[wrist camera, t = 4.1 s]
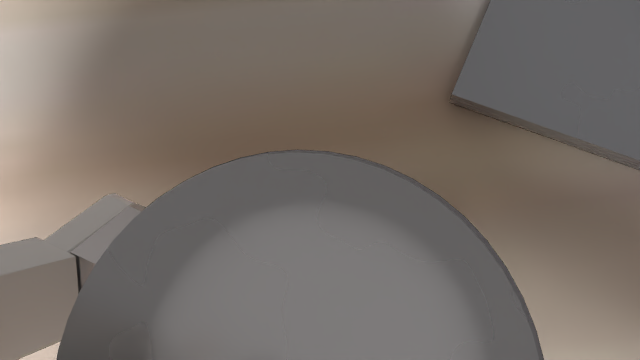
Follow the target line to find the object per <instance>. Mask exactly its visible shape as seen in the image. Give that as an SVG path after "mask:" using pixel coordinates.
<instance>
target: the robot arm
mask: <svg viewBox="0 0 640 360" xmlns="http://www.w3.org/2000/svg"><path fill="white" fill-rule="evenodd" d="M145 208H146V207H144V206H142V205H139V204H136V203H134V202H132V201H130V200H128V199H126V198H124V197H122V196H120V195H118V194H116V193H114V194H109V195H106V196H104V197H103V198H101V199H100V200H98V201H97V202H96V203H94V204H93V205H92V206H90V207H89V208H87V209H86V210H85V211H83V212H82V213H80V214H79V215H78V216H76V217H75V218H74V219H72V220H71V221H69V222H68V223H67V224H65V225H64V226H63V227H61V228H60V229H58V230H57V231H56V232H54V233H53V234H51V235H50V236H49V237H47V238H46V239H45V240H42V239H39V238H37V237H35V238H31V239H26V240H21V241H17V242H12V243H7V244H3V245H0V360H18V359H20V358H22V357H25V356H27V355H29V354H32V353H34V352H37V351H39V350H41V349H44V348H46V347H48V346H51V345H53V344H55V343H58V342H60V341H61V340H62V336H63V333H64V330H65V326H66V323H67V320H68V318H69V315H70V313H71V311H72V308H73V306H74V304H75V301H76V299H77V297H78V295H79V292H80V290H81V288H82V287H83V285H84V283H85V281H86V280H87V278H88V276H89V275H90V273H91V271H92V269H93V268H94V266H95V264H96V263H97V261H98V260H99V259H100V257H101V256H102V255H103V253H104V252H105V251H106V249H107V248H108V247H109V245H110V244H111V243H112V241H113V240H114V239H115V238H116V237H117V236H118V234H119V233H120V232H121V231H122V230H123V229H124V228H125V227H126V226H127V225H128V224H129V223H130V222H131V221H132V220H133V219H134V218H135V217H136V216H137V215H138V214H139V213H140V212H142V211H143V210H144V209H145Z"/></svg>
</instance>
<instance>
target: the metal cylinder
mask: <svg viewBox="0 0 640 360" xmlns="http://www.w3.org/2000/svg"><path fill="white" fill-rule="evenodd" d="M57 360H544V358H543V354H542V350H541V347H540V343H539V339H538V335H537V331H536V328H535V326H534V323H533V321H532V318H531V316H530V313H529V311H528V308H527V306H526V303H525V301H524V298H523V296H522V294H521V293H520V291H519V289H518V287H517V285H516V284H515V282H514V280H513V278H512V276H511V275H510V273H509V271H508V269H507V267H506V266H505V265H504V263H503V262H502V260H501V259H500V258H499V256H498V255H497V254H496V252H495V251H494V249H493V248H492V247H491V245H490V244H489V243H488V241H487V240H486V239H485V238H484V237H483V236H482V235H481V233H480V232H479V231H478V230H477V229H476V228H475V227H474V226H473V225H472V224H471V223H470V222H469V221H468V220H467V219H466V217H465V216H463V215H462V214H461V213H460V212H459V211H457V210H456V209H455V208H454V207H453V206H451V205H450V204H449V203H448V202H447V201H445V200H444V199H443V198H442V197H440V196H439V195H438V194H436V193H435V192H433V191H431V190H430V189H428V188H427V187H425V186H423V185H422V184H420V183H419V182H417V181H416V180H414V179H412V178H410V177H408V176H406V175H404V174H401V173H399V172H397V171H395V170H393V169H391V168H389V167H386V166H384V165H381V164H378V163H375V162H371V161H368V160H365V159H362V158H359V157H355V156H350V155H345V154H339V153H334V152H328V151H312V150H288V151H275V152H266V153H261V154H256V155H251V156H247V157H242V158H238V159H235V160H232V161H229V162H226V163H223V164H221V165H218V166H215V167H212V168H210V169H208V170H206V171H204V172H202V173H200V174H198V175H196V176H193V177H191V178H189V179H187V180H186V181H184V182H182V183H180V184H179V185H177V186H176V187H174V188H173V189H171V190H170V191H168V192H166V193H165V194H163V195H162V196H160V197H159V198H157V199H156V200H155V201H154V202H152V203H151V204H150V205H149V206H148V207H146V208H145V209H144V210H143V211H142V212H140V213H139V214H138V215H137V216H136V217H135V218H134V219H133V220H132V221H131V222H130V223H129V224H128V225H127V226H126V227H125V228H124V229H123V230H122V231H121V232H120V233H119V234H118V236H117V237H116V238H115V239H114V240H113V241H112V243H111V244H110V245H109V247H108V248H107V249H106V251H105V252H104V253H103V255H102V256H101V257H100V259H99V260H98V261H97V263H96V264H95V266H94V268H93V269H92V271H91V273H90V275H89V276H88V278H87V280H86V281H85V283H84V285H83V287H82V288H81V290H80V292H79V295H78V297H77V299H76V301H75V304H74V306H73V308H72V311H71V313H70V315H69V318H68V320H67V323H66V326H65V330H64V333H63V336H62V340H61V343H60V346H59V349H58V354H57Z"/></svg>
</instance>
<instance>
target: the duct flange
mask: <svg viewBox="0 0 640 360" xmlns="http://www.w3.org/2000/svg"><path fill="white" fill-rule="evenodd" d="M450 103H453V104H456V105H458V106H461V107H464V108H467V109H470V110H472V111H475V112H478V113H481V114H484V115H486V116H489V117H492V118H495V119H498V120H501V121H503V122H506V123H509V124H512V125H515V126H517V127H520V128H523V129H526V130H529V131H531V132H534V133H537V134H540V135H543V136H545V137H548V138H551V139H554V140H557V141H560V142H562V143H565V144H568V145H571V146H574V147H576V148H579V149H582V150H585V151H588V152H590V153H593V154H596V155H599V156H602V157H604V158H607V159H610V160H613V161H616V162H619V163H621V164H624V165H627V166H630V167H633V168H635V169H638V170H640V0H491V1H490V3H489V6H488V8H487V11H486V13H485V15H484V18H483V20H482V23H481V25H480V27H479V30H478V32H477V35H476V37H475V39H474V42H473V44H472V47H471V49H470V51H469V54H468V56H467V59H466V61H465V63H464V66H463V68H462V71H461V73H460V75H459V78H458V80H457V83H456V85H455V87H454V90H453V92H452V95H451V98H450Z"/></svg>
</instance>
